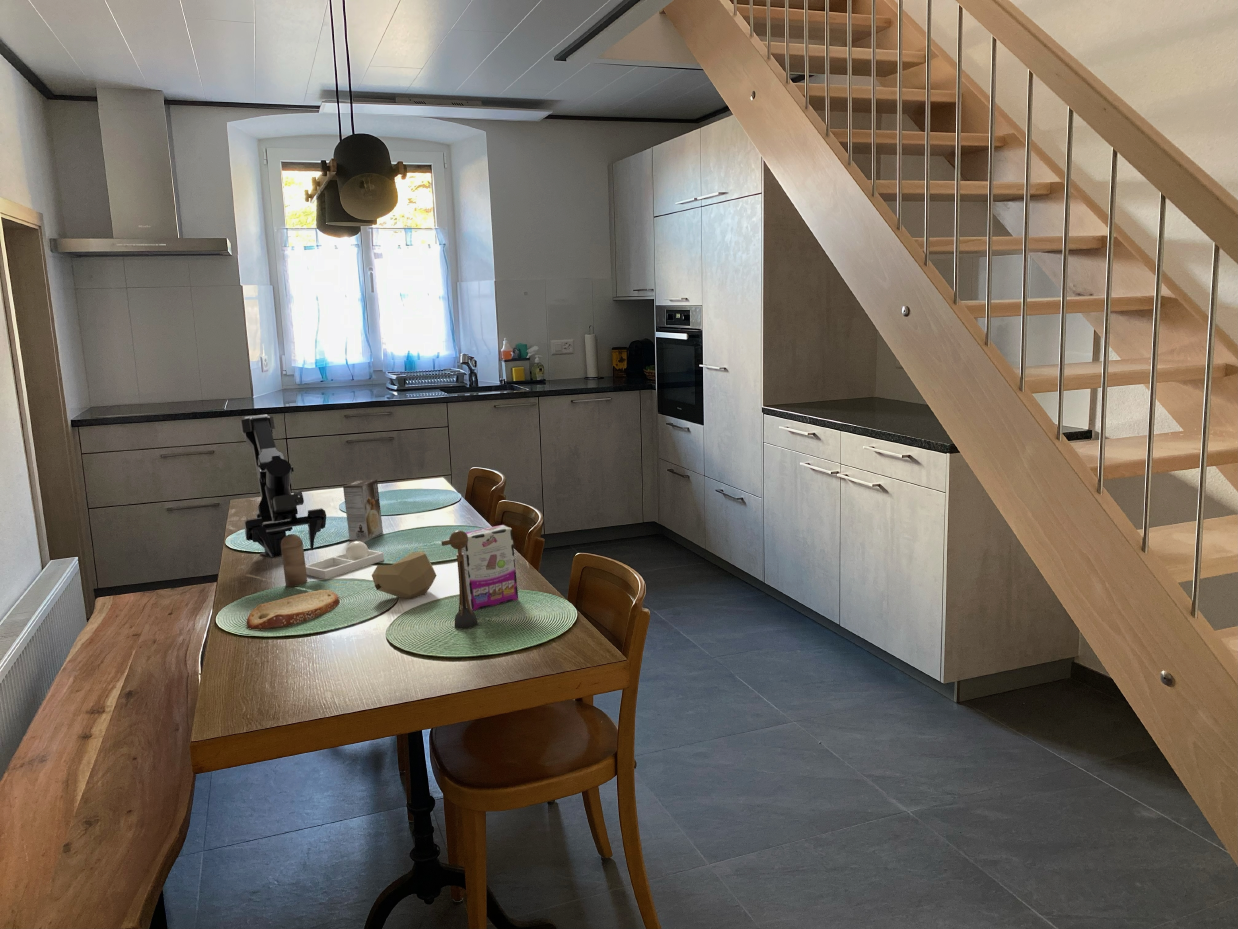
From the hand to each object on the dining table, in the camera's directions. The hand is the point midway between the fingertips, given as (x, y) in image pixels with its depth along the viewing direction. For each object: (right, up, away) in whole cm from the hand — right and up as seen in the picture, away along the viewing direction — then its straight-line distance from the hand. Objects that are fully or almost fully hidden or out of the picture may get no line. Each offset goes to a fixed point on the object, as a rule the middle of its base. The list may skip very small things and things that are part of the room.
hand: (292, 552), depth 218 cm
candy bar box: (+51, -9, -20) cm, 55 cm away
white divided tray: (+9, -5, +12) cm, 16 cm away
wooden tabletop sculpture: (+47, -12, -33) cm, 59 cm away
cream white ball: (+11, -4, +16) cm, 20 cm away
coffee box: (+5, 0, +44) cm, 45 cm away
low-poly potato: (+30, -9, -12) cm, 34 cm away
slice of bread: (+8, -12, -20) cm, 24 cm away
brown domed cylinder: (0, -8, +1) cm, 8 cm away
